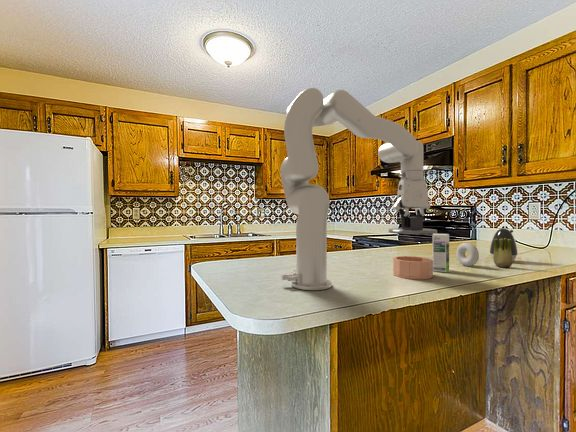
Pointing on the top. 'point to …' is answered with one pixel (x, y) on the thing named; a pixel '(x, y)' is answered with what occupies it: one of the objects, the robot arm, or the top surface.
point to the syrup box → (441, 252)
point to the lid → (414, 227)
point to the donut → (472, 254)
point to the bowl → (412, 267)
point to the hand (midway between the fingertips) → (412, 226)
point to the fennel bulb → (502, 253)
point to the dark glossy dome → (501, 235)
